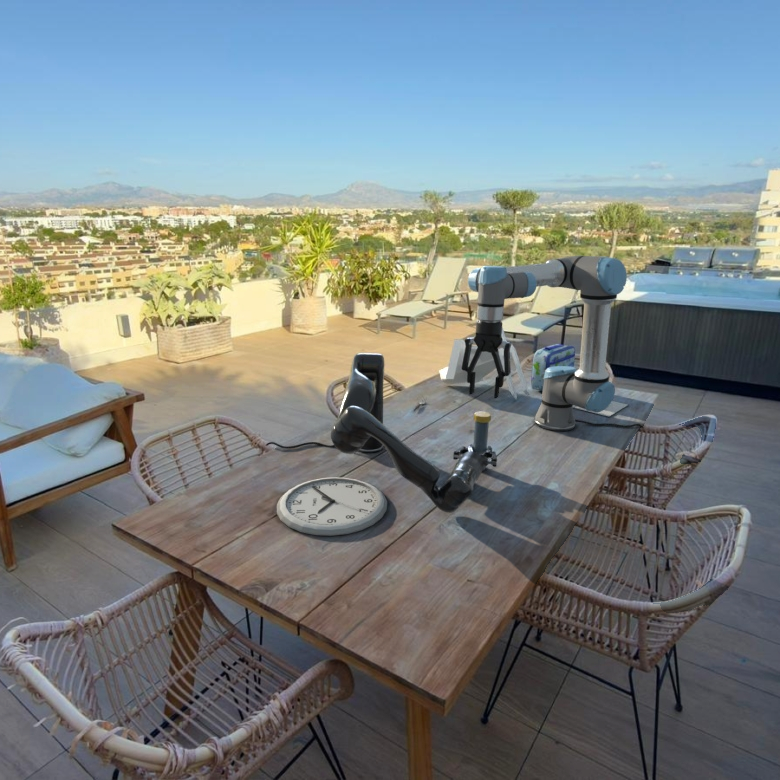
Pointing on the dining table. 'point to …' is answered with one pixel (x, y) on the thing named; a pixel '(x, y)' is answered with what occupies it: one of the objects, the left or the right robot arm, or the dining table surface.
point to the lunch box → (550, 362)
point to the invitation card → (608, 408)
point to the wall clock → (331, 506)
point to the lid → (482, 417)
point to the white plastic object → (479, 366)
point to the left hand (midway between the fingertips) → (481, 447)
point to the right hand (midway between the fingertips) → (483, 395)
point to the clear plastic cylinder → (480, 437)
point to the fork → (420, 403)
